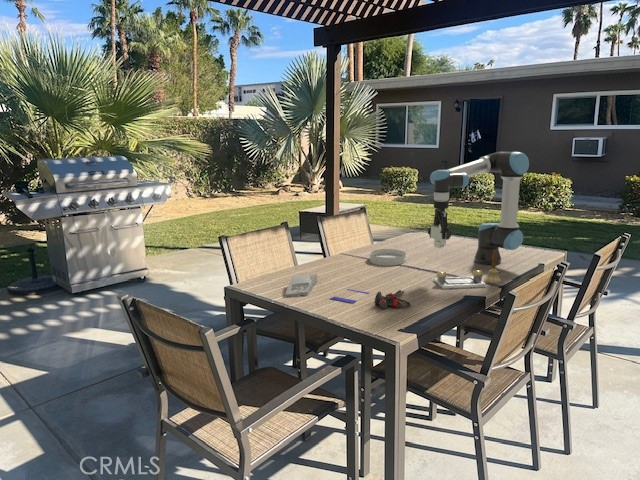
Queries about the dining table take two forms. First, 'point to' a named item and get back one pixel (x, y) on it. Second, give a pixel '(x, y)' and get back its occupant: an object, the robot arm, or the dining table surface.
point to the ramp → (301, 285)
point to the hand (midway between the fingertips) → (439, 242)
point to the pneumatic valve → (437, 234)
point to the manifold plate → (460, 280)
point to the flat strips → (348, 299)
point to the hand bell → (493, 271)
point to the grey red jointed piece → (390, 300)
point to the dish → (387, 257)
